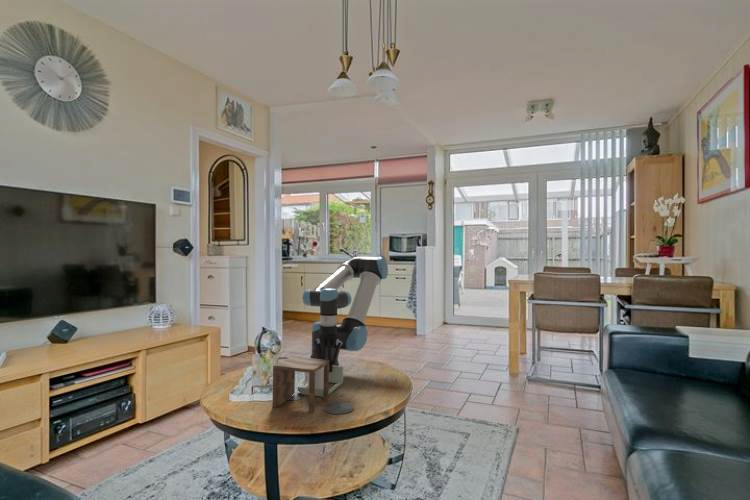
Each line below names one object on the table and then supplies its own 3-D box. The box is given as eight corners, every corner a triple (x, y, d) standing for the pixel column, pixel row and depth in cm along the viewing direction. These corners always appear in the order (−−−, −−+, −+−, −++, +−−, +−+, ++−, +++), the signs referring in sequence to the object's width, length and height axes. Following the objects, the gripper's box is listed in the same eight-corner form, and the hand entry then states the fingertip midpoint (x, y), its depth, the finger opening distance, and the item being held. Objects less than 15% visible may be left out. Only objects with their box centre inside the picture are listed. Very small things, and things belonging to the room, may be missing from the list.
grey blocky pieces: (318, 379, 183) (318, 363, 183) (343, 381, 180) (344, 365, 180) (297, 393, 165) (297, 375, 165) (325, 396, 161) (325, 378, 161)
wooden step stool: (291, 394, 164) (291, 356, 164) (328, 399, 159) (329, 360, 159) (272, 407, 150) (273, 365, 150) (312, 413, 145) (313, 369, 146)
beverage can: (322, 396, 162) (323, 365, 163) (303, 394, 165) (304, 363, 165) (330, 389, 170) (331, 360, 170) (312, 387, 173) (313, 358, 173)
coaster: (330, 401, 157) (330, 400, 157) (357, 405, 154) (357, 403, 154) (318, 412, 146) (318, 410, 146) (347, 416, 143) (347, 414, 143)
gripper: (310, 325, 176) (309, 380, 176) (339, 327, 172) (338, 383, 172) (318, 322, 183) (317, 375, 183) (345, 324, 180) (344, 378, 180)
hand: (327, 379), depth 178 cm, fingers closed
